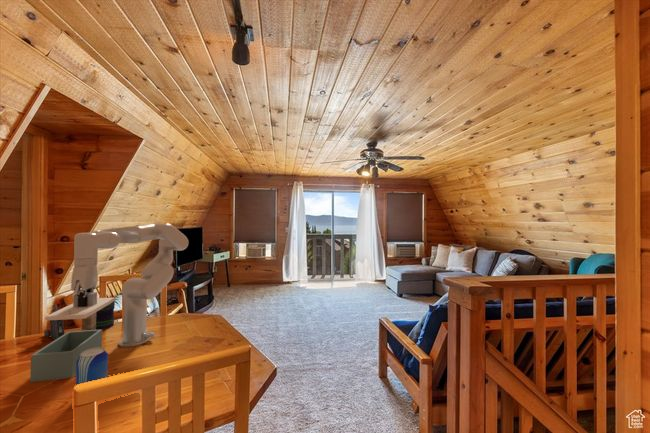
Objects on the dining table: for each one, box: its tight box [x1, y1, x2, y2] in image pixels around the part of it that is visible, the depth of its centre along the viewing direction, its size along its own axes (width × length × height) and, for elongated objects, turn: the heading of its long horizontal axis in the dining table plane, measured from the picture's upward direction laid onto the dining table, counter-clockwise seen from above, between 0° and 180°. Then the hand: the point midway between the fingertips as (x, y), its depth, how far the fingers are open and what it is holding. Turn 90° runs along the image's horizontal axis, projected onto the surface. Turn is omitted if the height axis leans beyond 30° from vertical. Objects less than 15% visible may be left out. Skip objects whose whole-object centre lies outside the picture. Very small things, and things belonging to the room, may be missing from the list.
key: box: [81, 312, 96, 331], centre depth 137 cm, size 4×4×16 cm
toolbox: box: [29, 330, 103, 383], centre depth 116 cm, size 13×22×10 cm, turn 15°
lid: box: [44, 291, 116, 322], centre depth 117 cm, size 13×22×6 cm, turn 12°
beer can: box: [75, 347, 109, 386], centre depth 96 cm, size 8×8×16 cm
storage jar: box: [96, 300, 116, 331], centre depth 156 cm, size 10×10×15 cm
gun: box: [43, 304, 66, 341], centre depth 141 cm, size 3×17×15 cm
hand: (85, 304), depth 118 cm, fingers closed on lid, 3 cm apart
